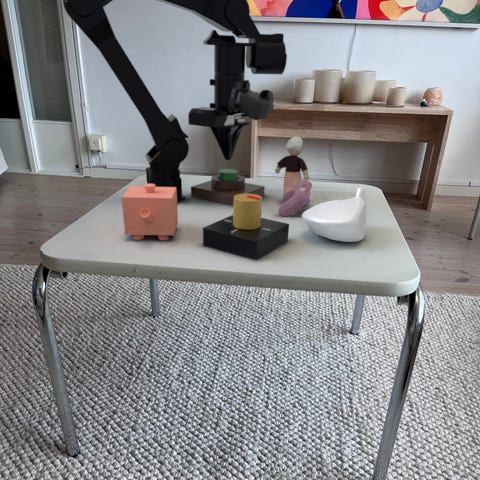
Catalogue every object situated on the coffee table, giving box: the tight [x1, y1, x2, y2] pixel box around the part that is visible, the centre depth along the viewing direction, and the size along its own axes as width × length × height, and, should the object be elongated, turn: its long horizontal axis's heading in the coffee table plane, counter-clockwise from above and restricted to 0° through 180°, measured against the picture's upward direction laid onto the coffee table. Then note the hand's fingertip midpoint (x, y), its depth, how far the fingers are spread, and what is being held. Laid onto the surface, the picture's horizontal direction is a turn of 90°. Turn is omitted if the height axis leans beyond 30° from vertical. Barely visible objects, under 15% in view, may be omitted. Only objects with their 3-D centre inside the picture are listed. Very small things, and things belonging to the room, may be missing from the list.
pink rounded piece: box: [277, 179, 313, 217], centre depth 92 cm, size 10×5×7 cm, turn 170°
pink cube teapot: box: [121, 183, 179, 241], centre depth 77 cm, size 8×12×8 cm, turn 1°
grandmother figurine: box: [274, 136, 310, 204], centre depth 94 cm, size 8×4×13 cm, turn 64°
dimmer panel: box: [202, 214, 290, 261], centre depth 76 cm, size 10×10×3 cm
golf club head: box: [301, 187, 367, 243], centre depth 80 cm, size 10×11×12 cm
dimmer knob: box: [232, 194, 263, 230], centre depth 74 cm, size 4×4×5 cm
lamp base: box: [190, 174, 266, 207], centre depth 100 cm, size 12×10×4 cm
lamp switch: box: [218, 168, 239, 181], centre depth 99 cm, size 4×4×2 cm
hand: (228, 159), depth 97 cm, fingers closed
